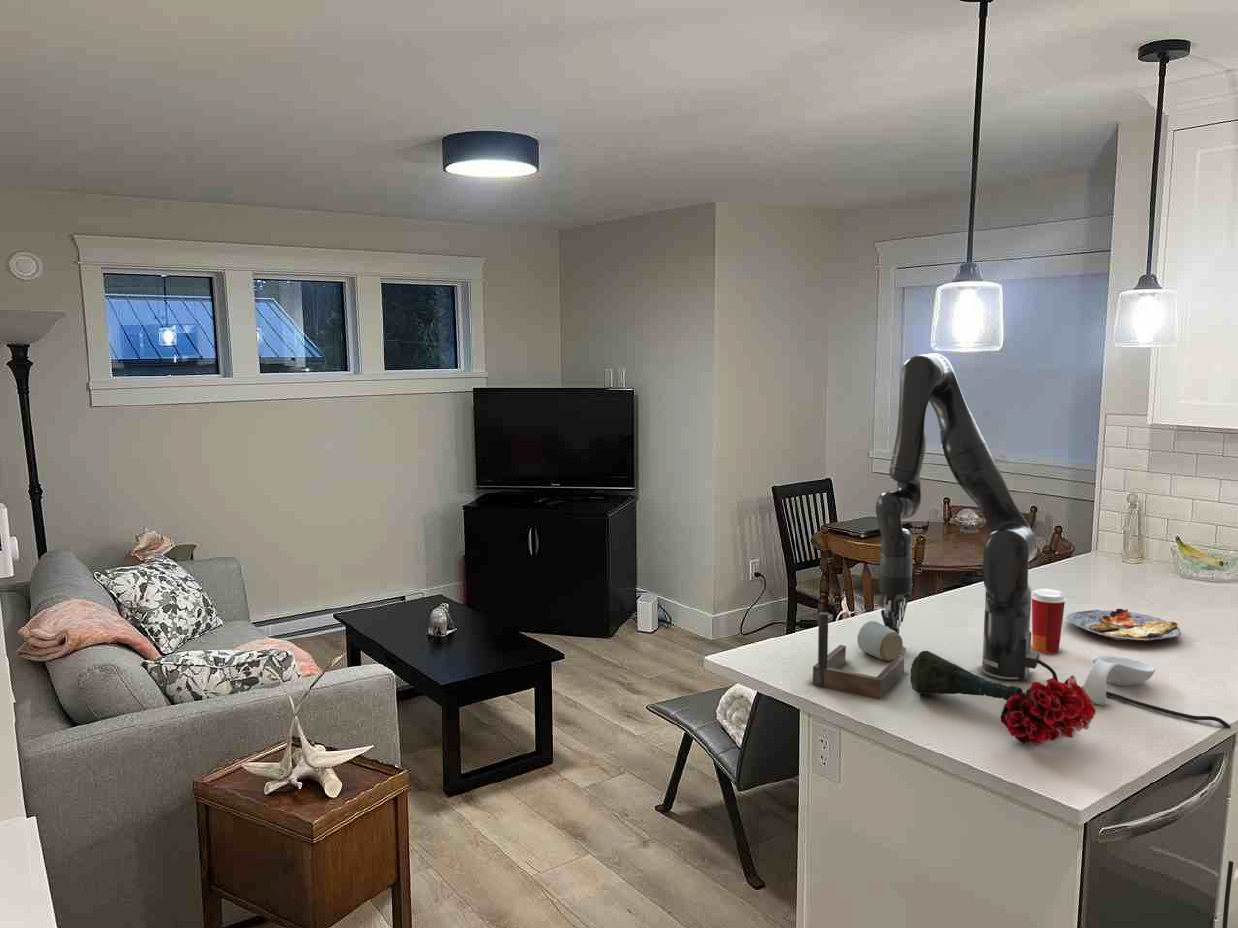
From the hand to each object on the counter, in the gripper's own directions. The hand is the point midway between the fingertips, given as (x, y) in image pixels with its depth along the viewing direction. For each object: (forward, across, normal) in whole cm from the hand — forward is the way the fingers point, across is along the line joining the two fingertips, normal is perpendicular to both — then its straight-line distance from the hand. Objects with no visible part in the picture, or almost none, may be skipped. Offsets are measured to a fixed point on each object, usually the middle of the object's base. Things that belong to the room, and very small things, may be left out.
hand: (893, 641), depth 217 cm
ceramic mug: (+1, -7, 0) cm, 7 cm away
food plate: (+1, +41, -45) cm, 61 cm away
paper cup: (+1, +17, -31) cm, 35 cm away
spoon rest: (+1, -1, -47) cm, 47 cm away
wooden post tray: (+1, -25, 0) cm, 25 cm away
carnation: (+1, -32, -30) cm, 43 cm away
